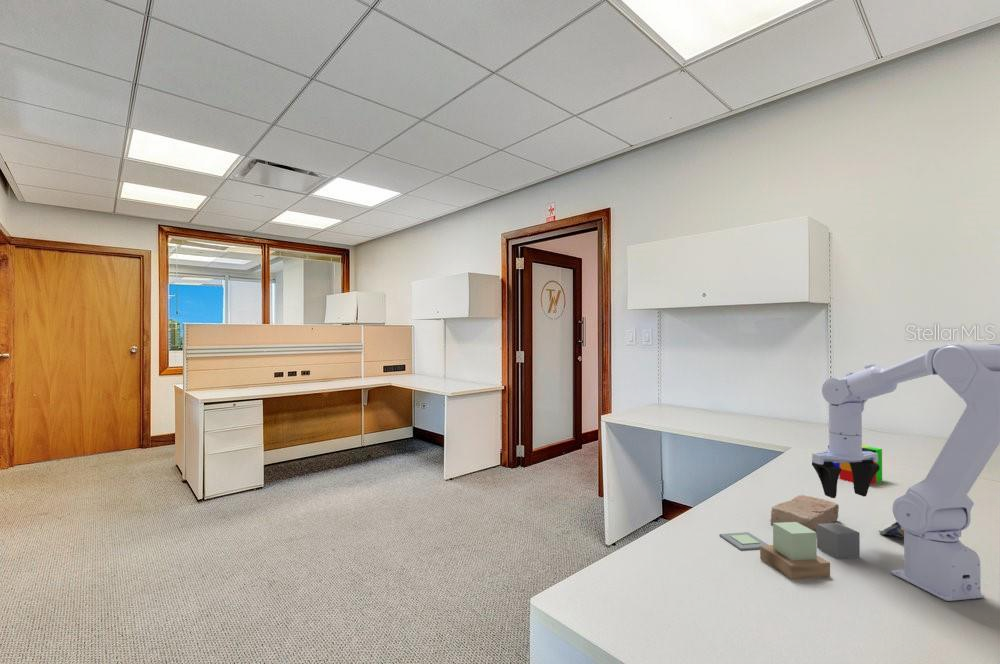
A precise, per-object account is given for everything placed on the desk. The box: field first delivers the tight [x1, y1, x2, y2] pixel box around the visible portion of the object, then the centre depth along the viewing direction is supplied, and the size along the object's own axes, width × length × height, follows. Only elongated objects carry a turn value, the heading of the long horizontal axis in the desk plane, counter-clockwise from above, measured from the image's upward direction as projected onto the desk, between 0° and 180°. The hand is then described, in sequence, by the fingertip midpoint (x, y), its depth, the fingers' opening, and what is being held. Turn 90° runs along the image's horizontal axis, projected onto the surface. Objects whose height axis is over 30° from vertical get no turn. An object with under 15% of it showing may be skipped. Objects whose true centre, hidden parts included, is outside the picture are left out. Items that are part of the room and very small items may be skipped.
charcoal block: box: [816, 522, 861, 560], centre depth 94 cm, size 5×5×5 cm
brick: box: [770, 494, 840, 532], centre depth 109 cm, size 16×8×5 cm, turn 123°
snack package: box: [878, 521, 904, 538], centre depth 101 cm, size 12×7×12 cm
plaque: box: [719, 531, 769, 551], centre depth 98 cm, size 7×7×1 cm
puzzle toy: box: [827, 444, 883, 485], centre depth 144 cm, size 10×10×10 cm
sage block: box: [772, 522, 818, 561], centre depth 88 cm, size 5×5×5 cm
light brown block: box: [759, 544, 831, 580], centre depth 88 cm, size 8×8×3 cm
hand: (845, 495), depth 99 cm, fingers open, 7 cm apart
